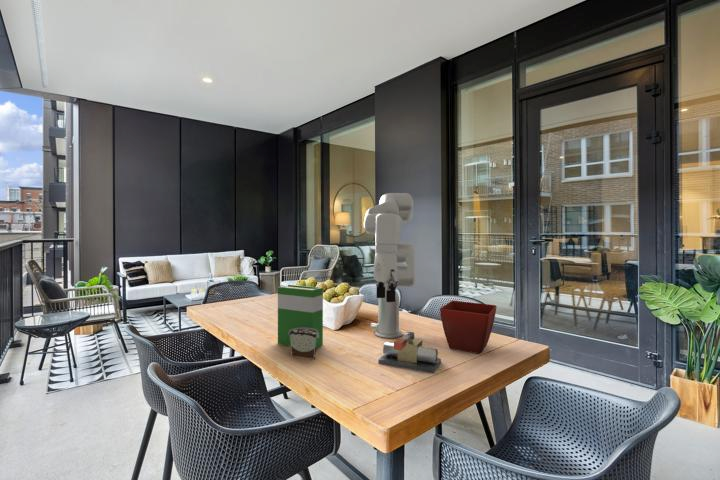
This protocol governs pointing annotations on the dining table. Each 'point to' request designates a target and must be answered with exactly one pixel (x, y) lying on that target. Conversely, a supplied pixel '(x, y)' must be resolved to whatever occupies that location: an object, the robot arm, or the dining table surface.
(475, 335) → the plant pot
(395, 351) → the valve body
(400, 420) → the dining table surface
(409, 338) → the valve lever
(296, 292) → the green cereal box
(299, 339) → the food container
